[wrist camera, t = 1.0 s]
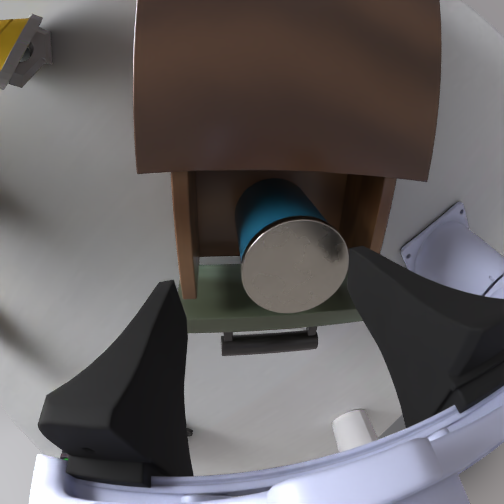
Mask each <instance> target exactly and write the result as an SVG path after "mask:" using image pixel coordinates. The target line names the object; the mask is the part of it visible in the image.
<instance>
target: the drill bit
mask: <svg viewBox="0 0 504 504" xmlns="http://www.w3.org/2000/svg"><path fill="white" fill-rule="evenodd" d="M41 21H42V17H39V16H37V15H34V14H31V15H30V17H29V18H28V19H10V20H0V89H2V90H4V89H5V87H6V86H7V84H8V82H9V84H11V85H14V86H17V87H21V88H22V87H23V86H24V85H25V84H26V83H27V82H28V80H29V79H30V78H31V77H32V76H33V75H34V74H35V73H36V72H37V71H38V70H39V69H40V68H41V67H42V66H43V65H44V64H45V63H47V64H52V50H51V32H50V31H47V30H45V29H42V28H40V27H39V25H40V23H41ZM27 47H28V48H29V50H30V57H29V59H28V60H26V61H24V62H20V60H21V58H22V56H23V54H24V52H25V51H26V49H27ZM9 80H10V81H9Z"/></svg>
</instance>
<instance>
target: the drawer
mask: <svg viewBox="0 0 504 504" xmlns="http://www.w3.org/2000/svg"><path fill="white" fill-rule="evenodd" d="M271 178H279V179H284V180H287V181H290V182H292V183H294V184H295V185H297V186H298V187H299V188H300V189H301V190H302V191H303V192H304V194H305V195H306V196H307V197H308V198H309V200H310V201H311V202H312V203H313V205H314V206H315V207H316V208H317V209H318V211H319V212H320V213H321V214H322V216H323V217H324V218H325V219H326V221H327V222H328V223H329V224H331V225H332V226H333V227H334V228H335V229H336V230H337V231H338V232H339V234H340V235H341V236H342V237H343V239H344V241H345V243H346V245H347V248H348V253H349V248H353V247H358V246H364V247H367V248H369V249H371V250H373V251H375V252H376V253H378V254H380V251H381V247H382V243H383V239H384V235H385V231H386V227H387V223H388V218H389V214H390V209H391V205H392V200H393V195H394V190H395V185H396V179H397V178H389V177H379V176H368V175H356V174H342V173H326V172H306V171H275V170H213V171H182V172H171V186H172V201H173V214H174V226H175V237H176V247H177V257H178V266H179V274H180V280H179V287H178V294H179V297H180V300H181V303H182V306H183V308H184V311H185V314H186V317H187V333H219V332H224V336H221V347H222V356H233V355H252V354H267V353H280V352H291V351H301V350H310V349H316V348H317V346H318V335H317V332H316V330H317V326H324V325H333V324H342V323H351V322H359V321H363V319H362V318H361V316H360V314H359V313H358V311H357V309H356V307H355V305H354V303H353V301H352V299H351V296H350V294H349V291H348V289H347V280H348V270H347V274H346V276H345V279H344V280H343V282H342V284H341V285H340V287H339V288H338V289H337V291H336V292H335V293H334V294H333V295H332V296H331V297H330V298H328V299H327V300H326V301H324V302H323V303H321V304H320V305H318V306H316V307H314V308H311V309H309V310H306V311H302V312H297V313H278V312H273V311H269V310H267V309H264V308H262V307H261V306H259V305H258V304H256V303H255V302H254V301H253V300H252V299H251V298H250V297H249V296H248V294H247V293H246V291H245V289H244V287H243V283H242V279H241V271H240V268H241V264H219V265H199V261H200V257H210V256H240V251H239V244H238V237H237V230H236V223H235V209H236V205H237V202H238V200H239V198H240V197H241V195H242V194H243V193H244V191H245V190H246V189H248V188H249V187H250V186H251V185H253V184H255V183H257V182H259V181H261V180H265V179H271ZM303 327H307V328H306V330H304V331H292V332H279V333H265V334H248V335H233V332H244V331H262V330H278V329H291V328H303Z"/></svg>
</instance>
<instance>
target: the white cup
mask: <svg viewBox="0 0 504 504" xmlns="http://www.w3.org/2000/svg"><path fill="white" fill-rule="evenodd" d="M332 426H333V430H334V434H335V438H336V442H337V446H338V451H339V452H343V451H346V450H349V449H352V448H355V447H359V446H362V445H364V444H367V443H370V442H373V441H376V440H378V438H377V435H376V433H375V431H374V429H373V426H372V424H371V422H370V420H369V418H368V415H367V413H366V411H365V410H361V409H358V410H353V411H350V412H347V413H344V414H343V415H341V416H339V417H337V418H336V419H335V420H334V421H333V422H332Z"/></svg>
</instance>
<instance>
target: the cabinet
mask: <svg viewBox="0 0 504 504" xmlns="http://www.w3.org/2000/svg"><path fill="white" fill-rule="evenodd" d="M440 81H441V14H440V0H137V6H136V18H135V32H134V53H133V117H134V139H135V155H136V168H137V174H146V173H162V172H182V171H213V170H275V171H306V172H326V173H342V174H356V175H368V176H379V177H389V178H398V179H407V180H415V181H423V182H427V180H428V175H429V170H430V165H431V159H432V153H433V147H434V140H435V133H436V125H437V117H438V107H439V96H440Z"/></svg>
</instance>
